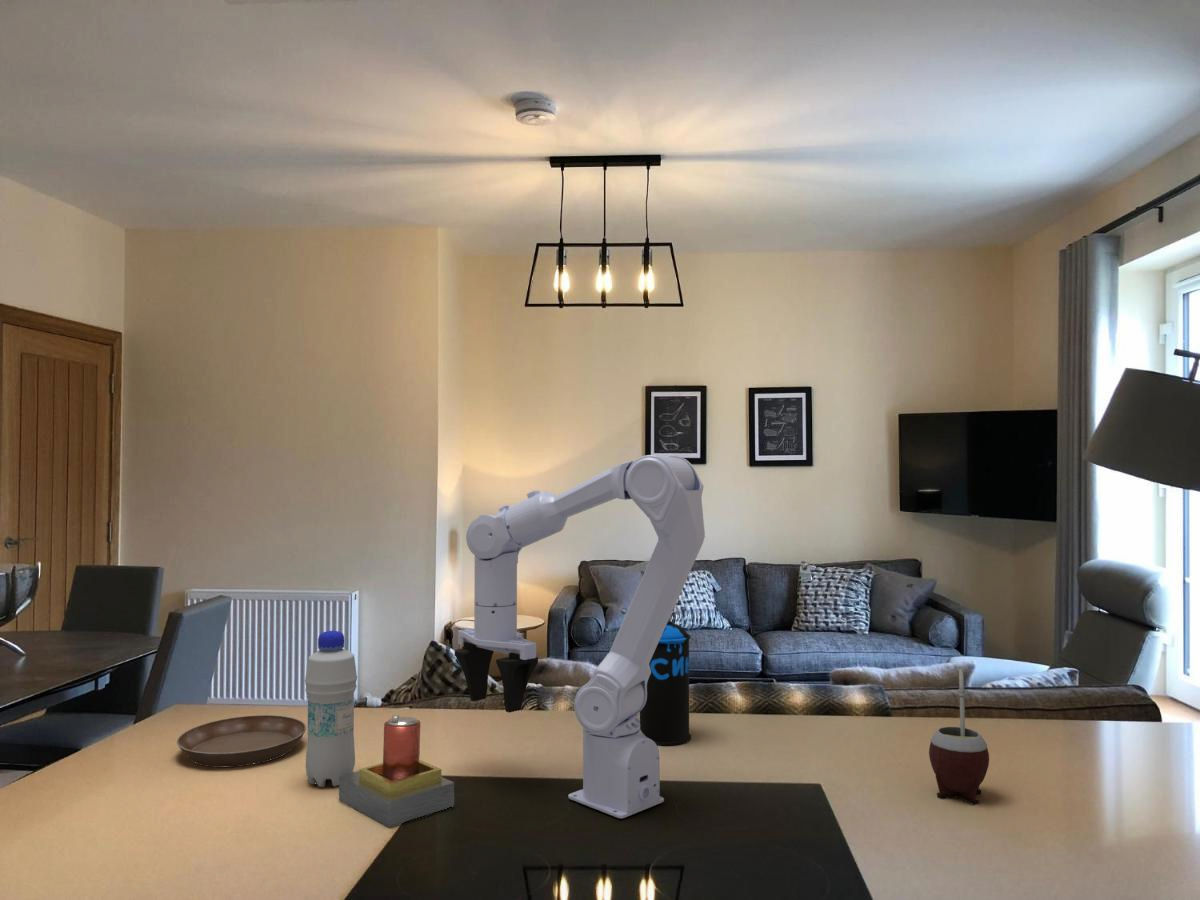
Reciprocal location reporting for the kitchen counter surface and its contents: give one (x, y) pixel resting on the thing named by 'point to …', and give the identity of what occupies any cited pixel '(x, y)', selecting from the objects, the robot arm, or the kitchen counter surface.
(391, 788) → the grey socket block
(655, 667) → the aerosol can
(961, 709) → the mate gourd
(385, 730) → the red metal cylinder
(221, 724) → the plant saucer
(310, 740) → the bottle
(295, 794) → the kitchen counter surface
